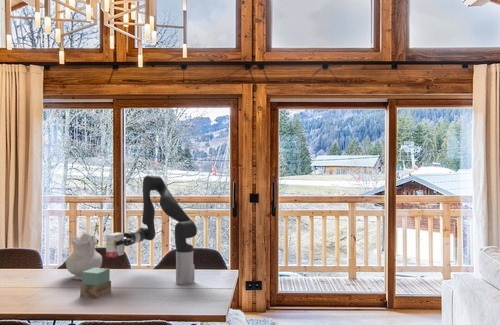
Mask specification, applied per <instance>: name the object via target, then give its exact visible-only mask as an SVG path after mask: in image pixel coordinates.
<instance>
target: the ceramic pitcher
mask: <svg viewBox="0 0 500 325" xmlns="http://www.w3.org/2000/svg"><path fill="white" fill-rule="evenodd" d="M97 242H98V239H97V237H94V236H93V235H92V234H91V233H90V234H89V233H87V232H86V233H82V235H80V236H77V235H72V237H71V245H72V246H73V252H72V253H71V254H70V255H69V256H68V257H67V258H66V259H65V266H66V269H67V271H68V273H70V274H71V275H73V280H78V281H79V280H81V281H82V272H84V271H86V270H89V269H92V268H101V267H102V265H103V256H102V255H101V253H99V252H98V251H97V250H96V245H97Z"/></svg>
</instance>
